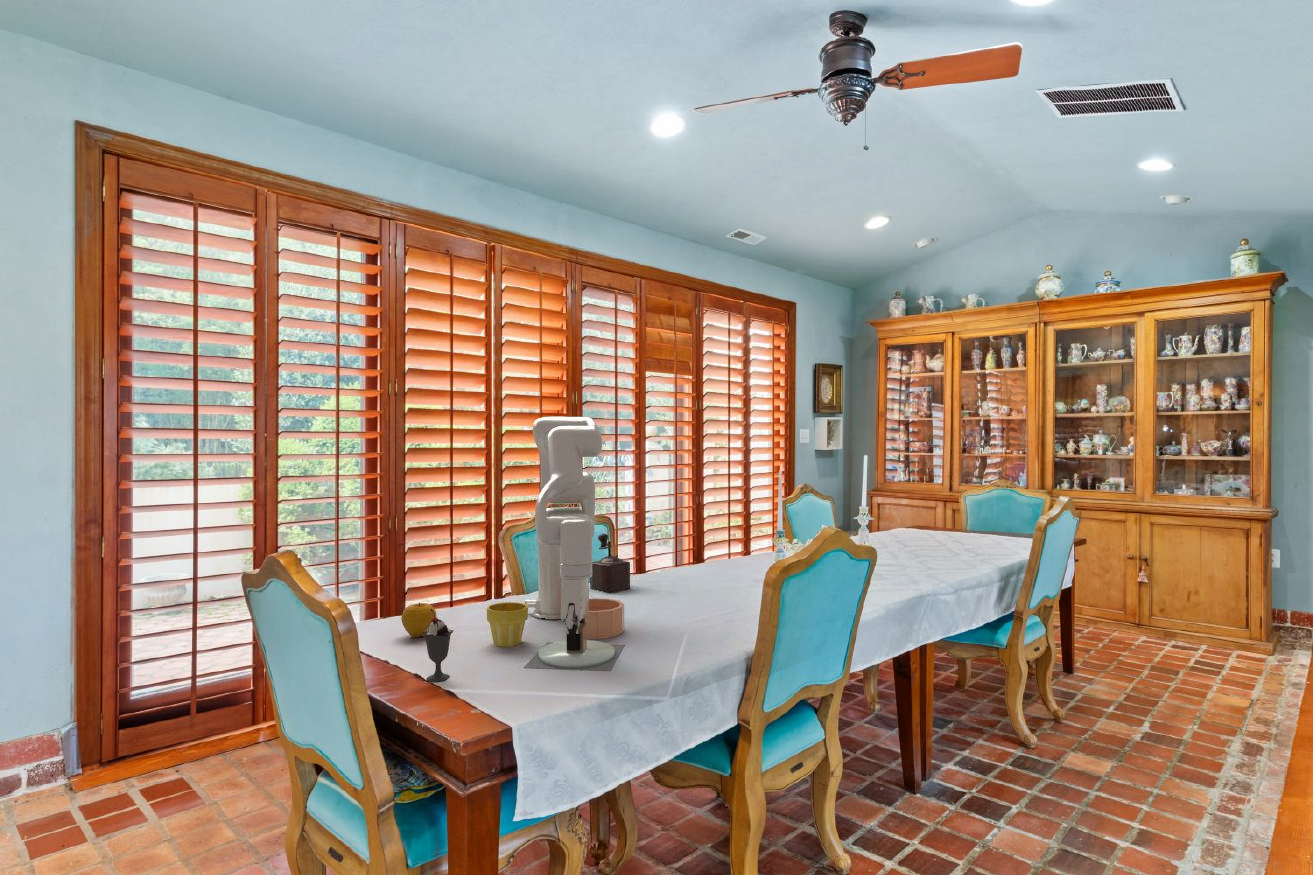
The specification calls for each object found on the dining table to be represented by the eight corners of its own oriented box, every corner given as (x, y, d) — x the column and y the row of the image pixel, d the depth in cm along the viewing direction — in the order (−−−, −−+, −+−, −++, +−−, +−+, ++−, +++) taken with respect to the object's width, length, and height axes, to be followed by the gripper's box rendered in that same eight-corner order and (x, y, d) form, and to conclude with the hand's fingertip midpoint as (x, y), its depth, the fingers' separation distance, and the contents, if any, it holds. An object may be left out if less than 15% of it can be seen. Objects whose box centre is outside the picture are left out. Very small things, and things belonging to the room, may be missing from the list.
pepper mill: (632, 588, 248) (632, 536, 248) (607, 593, 240) (607, 539, 240) (604, 582, 259) (604, 532, 259) (580, 586, 251) (579, 535, 251)
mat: (523, 670, 161) (523, 667, 161) (547, 644, 181) (547, 642, 181) (610, 673, 159) (610, 670, 159) (625, 646, 179) (625, 644, 179)
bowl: (561, 639, 185) (561, 610, 185) (574, 624, 200) (574, 597, 200) (618, 641, 184) (618, 612, 184) (627, 626, 198) (627, 599, 198)
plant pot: (535, 640, 185) (535, 603, 185) (515, 652, 175) (515, 612, 175) (500, 637, 188) (500, 600, 188) (478, 648, 178) (478, 609, 178)
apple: (425, 641, 184) (425, 607, 184) (394, 640, 186) (393, 605, 186) (442, 632, 193) (442, 599, 193) (412, 630, 195) (412, 597, 195)
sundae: (425, 673, 159) (425, 606, 159) (456, 672, 160) (456, 605, 160) (418, 683, 153) (418, 613, 153) (450, 682, 153) (450, 613, 153)
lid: (529, 666, 162) (528, 634, 162) (549, 643, 180) (549, 614, 180) (607, 669, 160) (607, 637, 160) (620, 645, 178) (620, 616, 178)
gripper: (569, 563, 179) (569, 635, 179) (551, 577, 162) (551, 657, 162) (599, 564, 178) (599, 636, 178) (583, 577, 161) (584, 658, 161)
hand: (576, 645), depth 170 cm, fingers open, 5 cm apart
